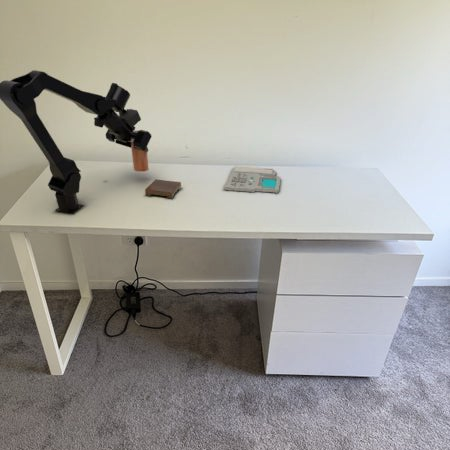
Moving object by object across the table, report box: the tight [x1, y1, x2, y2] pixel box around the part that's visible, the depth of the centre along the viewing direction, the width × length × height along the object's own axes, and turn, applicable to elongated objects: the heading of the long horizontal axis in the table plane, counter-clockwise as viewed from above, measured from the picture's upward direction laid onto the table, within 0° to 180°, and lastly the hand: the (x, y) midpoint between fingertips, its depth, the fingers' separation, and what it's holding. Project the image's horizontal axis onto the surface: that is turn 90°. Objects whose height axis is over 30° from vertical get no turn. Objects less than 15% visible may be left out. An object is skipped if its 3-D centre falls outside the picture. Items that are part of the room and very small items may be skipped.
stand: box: [144, 178, 182, 200], centre depth 139 cm, size 10×10×2 cm
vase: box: [130, 130, 150, 173], centre depth 142 cm, size 6×6×14 cm
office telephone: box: [224, 165, 281, 194], centre depth 149 cm, size 23×3×20 cm
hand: (142, 149), depth 143 cm, fingers closed on vase, 5 cm apart
